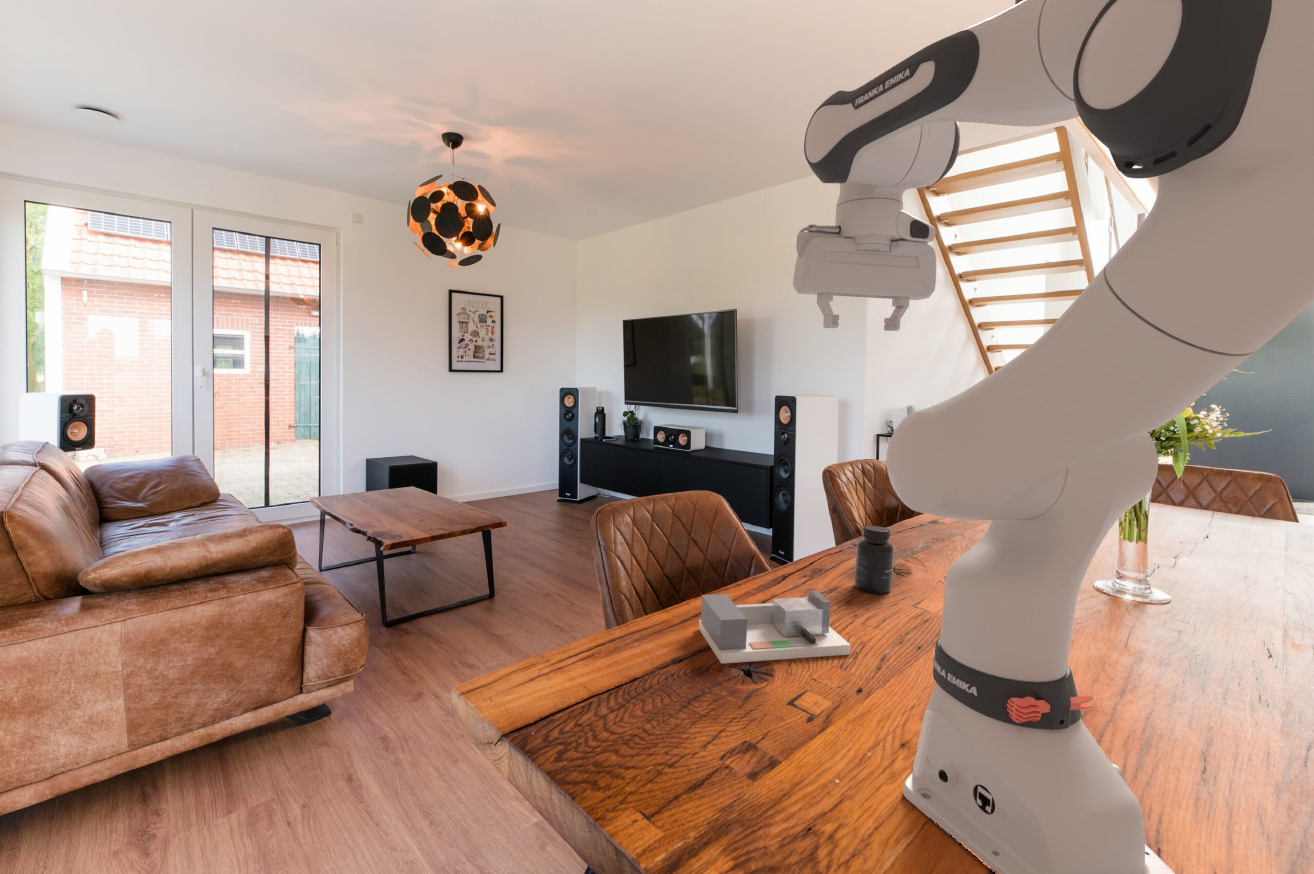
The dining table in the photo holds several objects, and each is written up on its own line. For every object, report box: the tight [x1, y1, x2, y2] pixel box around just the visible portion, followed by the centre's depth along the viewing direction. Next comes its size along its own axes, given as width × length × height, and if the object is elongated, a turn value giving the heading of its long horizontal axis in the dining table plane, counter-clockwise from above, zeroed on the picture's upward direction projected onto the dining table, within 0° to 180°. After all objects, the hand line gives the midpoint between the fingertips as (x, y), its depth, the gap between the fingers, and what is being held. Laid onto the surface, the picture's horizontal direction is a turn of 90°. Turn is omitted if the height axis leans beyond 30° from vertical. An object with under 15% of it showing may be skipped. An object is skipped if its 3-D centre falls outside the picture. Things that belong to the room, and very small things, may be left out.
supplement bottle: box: [854, 525, 895, 595], centre depth 121 cm, size 7×7×12 cm
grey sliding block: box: [772, 589, 831, 644], centre depth 95 cm, size 8×7×5 cm
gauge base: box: [698, 593, 852, 664], centre depth 96 cm, size 12×20×6 cm, turn 102°
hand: (861, 329), depth 88 cm, fingers open, 8 cm apart
